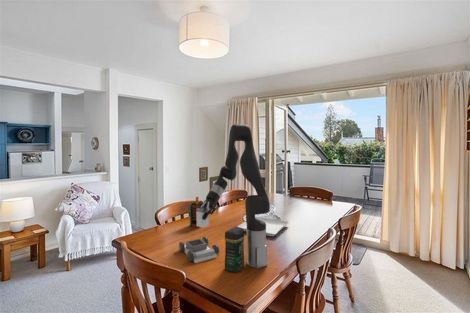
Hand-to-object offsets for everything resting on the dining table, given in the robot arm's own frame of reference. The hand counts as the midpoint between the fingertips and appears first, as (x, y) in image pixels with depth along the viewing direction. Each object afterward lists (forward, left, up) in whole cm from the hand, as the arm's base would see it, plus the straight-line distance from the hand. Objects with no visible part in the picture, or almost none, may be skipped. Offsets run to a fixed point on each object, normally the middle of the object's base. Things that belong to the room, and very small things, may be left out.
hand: (200, 218), depth 143 cm
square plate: (+2, -47, -16) cm, 50 cm away
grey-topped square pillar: (0, -2, -5) cm, 5 cm away
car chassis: (-9, +5, -15) cm, 19 cm away
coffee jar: (-33, -3, -16) cm, 36 cm away
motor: (+33, -12, -16) cm, 39 cm away
